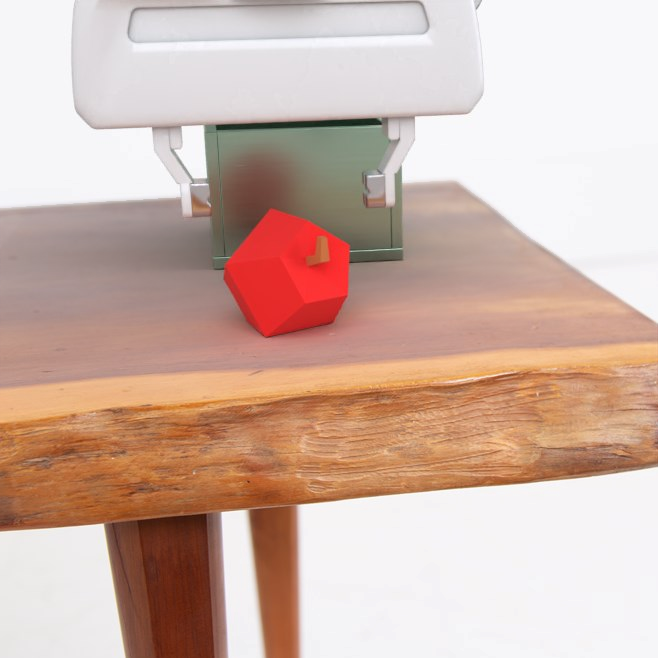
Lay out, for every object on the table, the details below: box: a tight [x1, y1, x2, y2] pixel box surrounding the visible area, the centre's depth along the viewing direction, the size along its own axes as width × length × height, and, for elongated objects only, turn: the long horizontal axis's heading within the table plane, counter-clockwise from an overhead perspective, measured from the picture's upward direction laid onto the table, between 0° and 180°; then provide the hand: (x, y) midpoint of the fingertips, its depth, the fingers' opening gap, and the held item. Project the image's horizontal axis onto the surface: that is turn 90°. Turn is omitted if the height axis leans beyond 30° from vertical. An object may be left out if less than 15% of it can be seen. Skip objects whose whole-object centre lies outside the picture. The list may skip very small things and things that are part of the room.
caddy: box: [202, 118, 404, 270], centre depth 80 cm, size 15×13×9 cm
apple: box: [223, 209, 350, 338], centre depth 59 cm, size 7×7×8 cm
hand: (289, 211), depth 58 cm, fingers open, 8 cm apart
